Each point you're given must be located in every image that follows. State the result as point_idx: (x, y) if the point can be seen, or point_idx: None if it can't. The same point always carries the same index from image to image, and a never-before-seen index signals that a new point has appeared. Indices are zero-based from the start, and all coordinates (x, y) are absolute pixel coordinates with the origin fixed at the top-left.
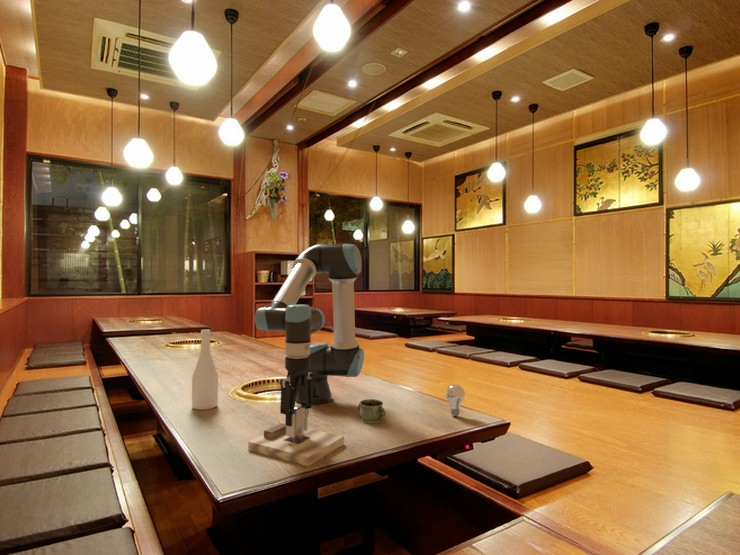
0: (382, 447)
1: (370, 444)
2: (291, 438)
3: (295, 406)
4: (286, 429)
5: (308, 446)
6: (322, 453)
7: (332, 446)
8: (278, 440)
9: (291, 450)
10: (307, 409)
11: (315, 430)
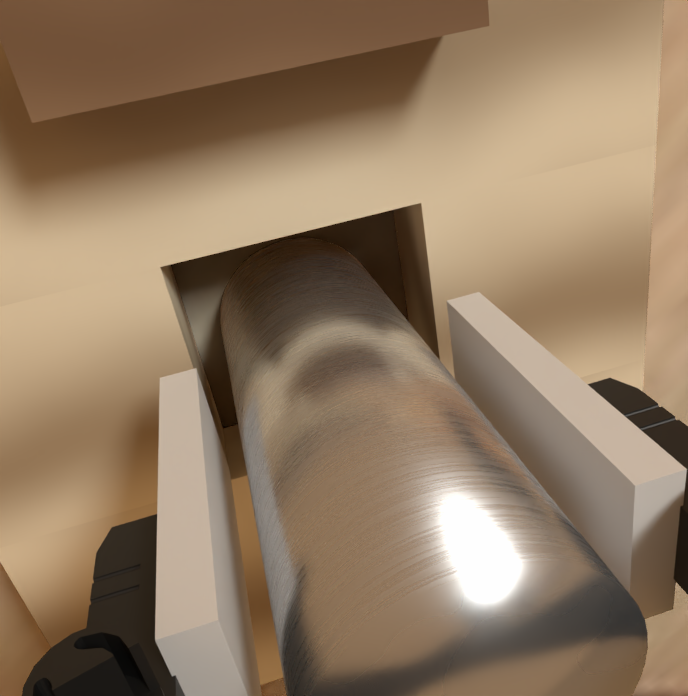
0: (668, 666)
1: (679, 602)
2: (231, 375)
3: (524, 620)
4: (160, 433)
5: (260, 576)
6: None
7: None
8: (108, 234)
9: (60, 568)
10: (658, 608)
11: (639, 282)
